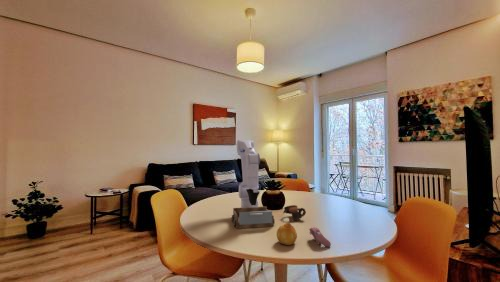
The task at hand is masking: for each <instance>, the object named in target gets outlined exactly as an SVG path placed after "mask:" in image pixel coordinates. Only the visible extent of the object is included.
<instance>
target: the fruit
mask: <svg viewBox="0 0 500 282" xmlns="http://www.w3.org/2000/svg"><path fill="white" fill-rule="evenodd" d="M297 233H298V232H297V231H296V228H295V227H294V226H293V225H292V224H291V223H289V222H285V223H284V224H282V225H280V226H279V227H278V228H277V230H276V238H277V240H278V242H279V243H281V244H282V245H284V246H291V245H293V244H294V243H295V242H296V240H297V238H298V234H297Z"/></svg>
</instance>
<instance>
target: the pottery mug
mask: <svg viewBox="0 0 500 282" xmlns="http://www.w3.org/2000/svg"><path fill="white" fill-rule="evenodd" d="M283 209H284V210H283V214H289V215H291V216H288V219H289V222H294V221H297V222H300V219H302V218H303V217H305V215H306V213H307V211H306V209H305V208H304V207H300V208H299V207H298V205H296V204H295V205H294V204H293V205H287V206H285V207H283Z"/></svg>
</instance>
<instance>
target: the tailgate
mask: <svg viewBox="0 0 500 282" xmlns="http://www.w3.org/2000/svg"><path fill="white" fill-rule="evenodd" d="M272 215H273V211H272V210H268V211H255V212H239V224H240V225H245V224H262V223H272Z"/></svg>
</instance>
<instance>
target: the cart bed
mask: <svg viewBox="0 0 500 282" xmlns="http://www.w3.org/2000/svg"><path fill="white" fill-rule="evenodd" d="M267 208H268V207H267V206H258V207H245V208H241V207H233V209H232V210H233V211H232V212H233V213H232V215H231V221H232V222H233V227H234V228H236V229H238V230H239V229H250V228H251V229H253V228H269V227H274V226H275V217H274V215H273V214H272V223H262V224H245V225H240V224H239V212H255V211H269V210H268V209H267Z"/></svg>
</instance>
